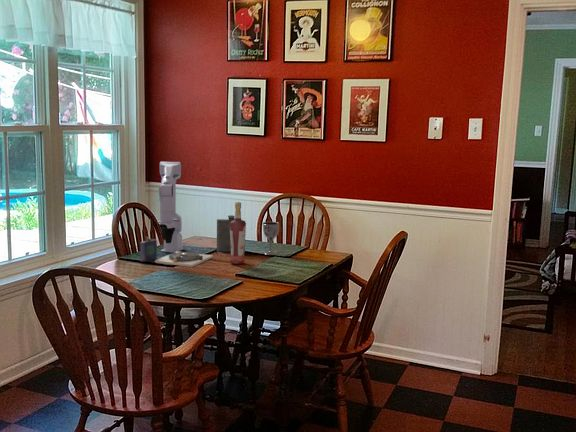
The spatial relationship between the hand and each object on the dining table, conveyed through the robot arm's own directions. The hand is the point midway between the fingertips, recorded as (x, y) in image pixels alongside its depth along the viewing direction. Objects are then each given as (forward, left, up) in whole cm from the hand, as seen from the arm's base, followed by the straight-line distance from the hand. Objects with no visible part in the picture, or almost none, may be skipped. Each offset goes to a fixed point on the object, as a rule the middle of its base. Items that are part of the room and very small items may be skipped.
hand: (167, 241), depth 271 cm
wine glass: (-40, +34, -11) cm, 54 cm away
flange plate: (-9, +3, -9) cm, 13 cm away
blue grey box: (-3, -12, -11) cm, 16 cm away
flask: (-35, +15, -11) cm, 40 cm away
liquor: (-14, +28, -11) cm, 33 cm away
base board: (-10, +3, -10) cm, 15 cm away
